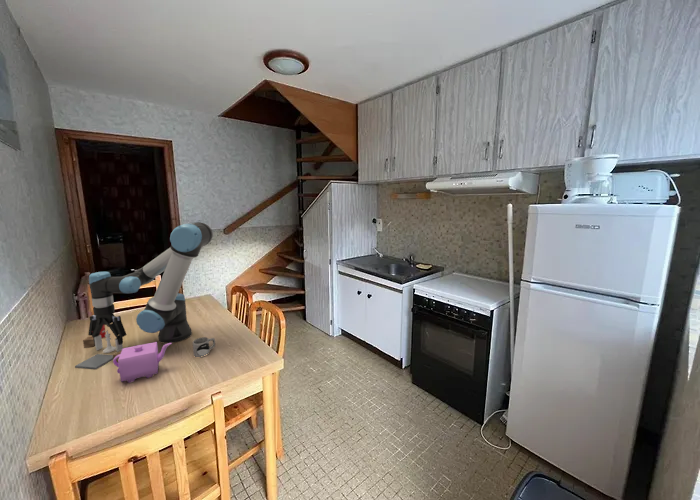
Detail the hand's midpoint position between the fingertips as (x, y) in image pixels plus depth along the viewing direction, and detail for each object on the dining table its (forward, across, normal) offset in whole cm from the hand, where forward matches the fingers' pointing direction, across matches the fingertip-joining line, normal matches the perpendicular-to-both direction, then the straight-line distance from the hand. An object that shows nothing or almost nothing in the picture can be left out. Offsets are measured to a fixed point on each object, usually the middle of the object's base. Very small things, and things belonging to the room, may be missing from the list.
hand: (109, 349), depth 139 cm
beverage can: (0, +17, -11) cm, 20 cm away
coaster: (0, -4, +10) cm, 11 cm away
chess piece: (0, 0, 0) cm, 0 cm away
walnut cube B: (0, -14, +8) cm, 16 cm away
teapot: (+1, -32, +15) cm, 35 cm away
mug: (+1, -46, -4) cm, 46 cm away
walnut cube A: (0, +13, -3) cm, 13 cm away
